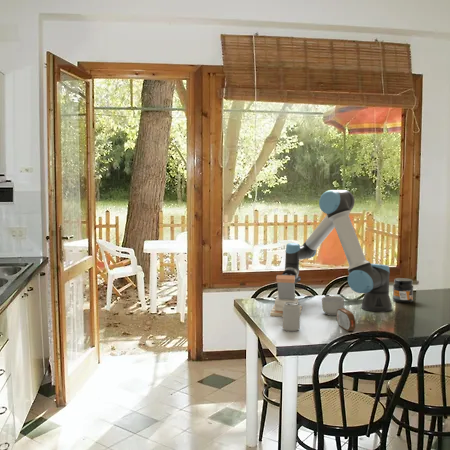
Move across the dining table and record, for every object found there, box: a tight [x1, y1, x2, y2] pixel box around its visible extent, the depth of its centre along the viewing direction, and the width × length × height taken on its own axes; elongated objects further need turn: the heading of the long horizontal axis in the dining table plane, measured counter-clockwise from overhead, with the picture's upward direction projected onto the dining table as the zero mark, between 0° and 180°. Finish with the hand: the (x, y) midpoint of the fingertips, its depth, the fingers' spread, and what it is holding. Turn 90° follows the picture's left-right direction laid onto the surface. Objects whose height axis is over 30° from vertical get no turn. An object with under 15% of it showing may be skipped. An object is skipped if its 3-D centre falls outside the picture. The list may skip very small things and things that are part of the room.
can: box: [282, 302, 301, 333], centre depth 243 cm, size 8×8×12 cm
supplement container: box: [392, 277, 414, 304], centre depth 301 cm, size 10×10×12 cm
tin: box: [336, 307, 357, 332], centre depth 245 cm, size 15×3×8 cm, turn 12°
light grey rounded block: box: [321, 295, 345, 316], centre depth 273 cm, size 14×11×8 cm
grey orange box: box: [275, 274, 296, 300], centre depth 269 cm, size 3×9×14 cm
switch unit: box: [269, 296, 303, 318], centre depth 274 cm, size 18×14×6 cm
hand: (284, 284), depth 270 cm, fingers closed
